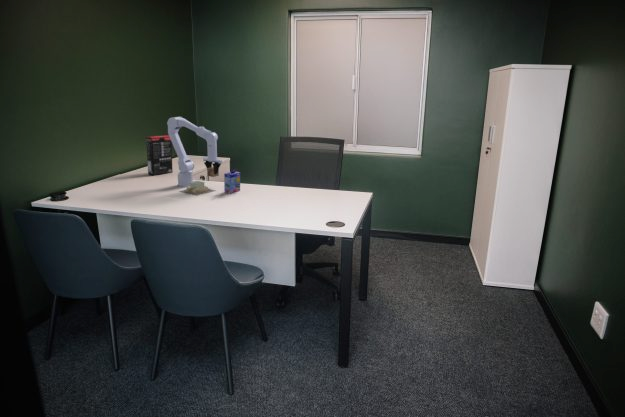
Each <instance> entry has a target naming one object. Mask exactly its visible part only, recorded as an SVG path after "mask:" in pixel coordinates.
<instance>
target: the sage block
mask: <svg viewBox="0 0 625 417" xmlns="http://www.w3.org/2000/svg"><path fill="white" fill-rule="evenodd" d="M204 186H205V182H204V181H200V180H195V181H194V180H193V182H190V187H191V188H196V189H198V188H202V187H204Z"/></svg>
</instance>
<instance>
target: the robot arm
mask: <svg viewBox="0 0 625 417" xmlns="http://www.w3.org/2000/svg"><path fill="white" fill-rule="evenodd" d="M166 124H167V134H168V135H169V137H170V139H171V144H172V146H173V149H174V151H175V153H176V155H177V157H178V160H177V164H178V170H179V172H178V174H177V186H180V187H184V188H187V187H190V182H194V175H193V170H194V168H195V164H194V162H193V161H192V160H191V159H192V158H190V157H189V156H188V155H187V153H186V151H185V148H184V146H183V145H184V144H183V143H182V141H181V137H180V135H179V130H180V129H181V128H182V127H185V128H187V129H189V130H190V131H192V132H195V134H196V135H197V136H199V137H200V138H202V139H204V140H205V141H206V143H207V144H206V145H207V150H206V151H207V157H203V158H202V161H203V164H204V166H205V168H206V169H207V168H211V167H214V174H218V170H219V169H220V168H221V165H222V164H223V160H222V159H219V158H218V150H217V149H218V146H217V141H218V139H219V136H218V134H217V133H216V132H215V131H214V132H213V131H211V130H209V129H206V128H205V126H197V125H196V124H194V123H192V122H190V121H189V120H187V119H186V118H183V116H174V117H170V118H168V120H167V122H166ZM219 171H220V170H219Z"/></svg>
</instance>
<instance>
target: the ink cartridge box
mask: <svg viewBox="0 0 625 417" xmlns="http://www.w3.org/2000/svg"><path fill="white" fill-rule="evenodd" d="M223 177H224V179H223V181H224V185H223V187H224V190H223V191H224V193H226V194H230V195H231V194H235V193H238V192H240V191H241V172H239V171H237V169H236V168H235V169H232V170H231V171H230V172H225V173H224V175H223Z"/></svg>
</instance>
